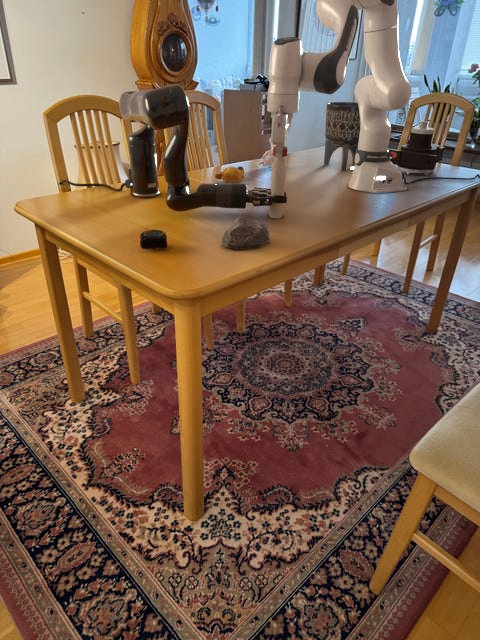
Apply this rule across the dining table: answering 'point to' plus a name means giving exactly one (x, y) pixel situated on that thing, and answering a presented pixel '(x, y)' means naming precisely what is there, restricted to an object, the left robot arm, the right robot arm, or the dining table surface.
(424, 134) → the mechanical component
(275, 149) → the cap
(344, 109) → the planter
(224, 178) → the toy
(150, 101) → the left robot arm
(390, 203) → the dining table surface
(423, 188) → the dining table surface
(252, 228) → the rock
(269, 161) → the figurine
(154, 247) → the tape measure
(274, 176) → the bottle
